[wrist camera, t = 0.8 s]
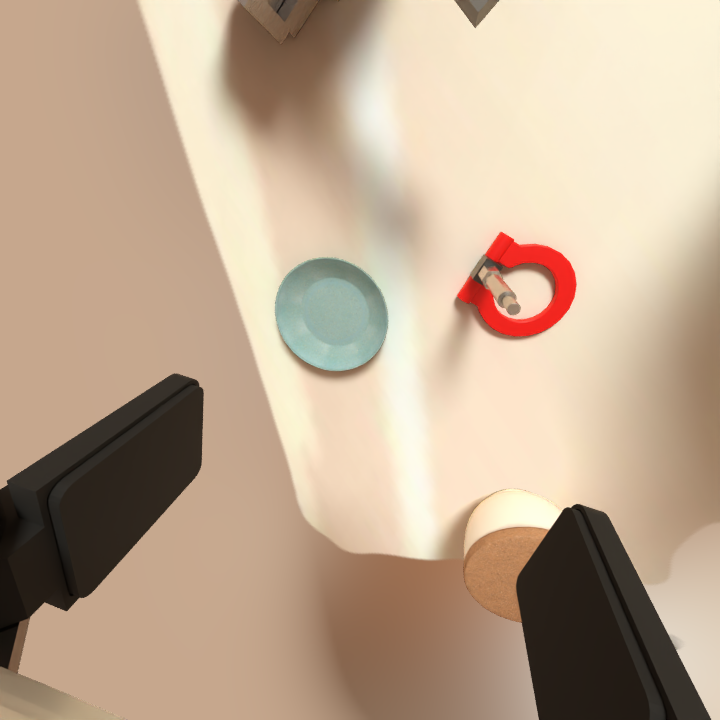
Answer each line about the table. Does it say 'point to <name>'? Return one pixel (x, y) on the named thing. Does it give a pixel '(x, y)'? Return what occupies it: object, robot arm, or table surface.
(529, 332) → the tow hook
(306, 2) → the valve body
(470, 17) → the lever
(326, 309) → the saucer
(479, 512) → the lidded bowl
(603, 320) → the table surface
